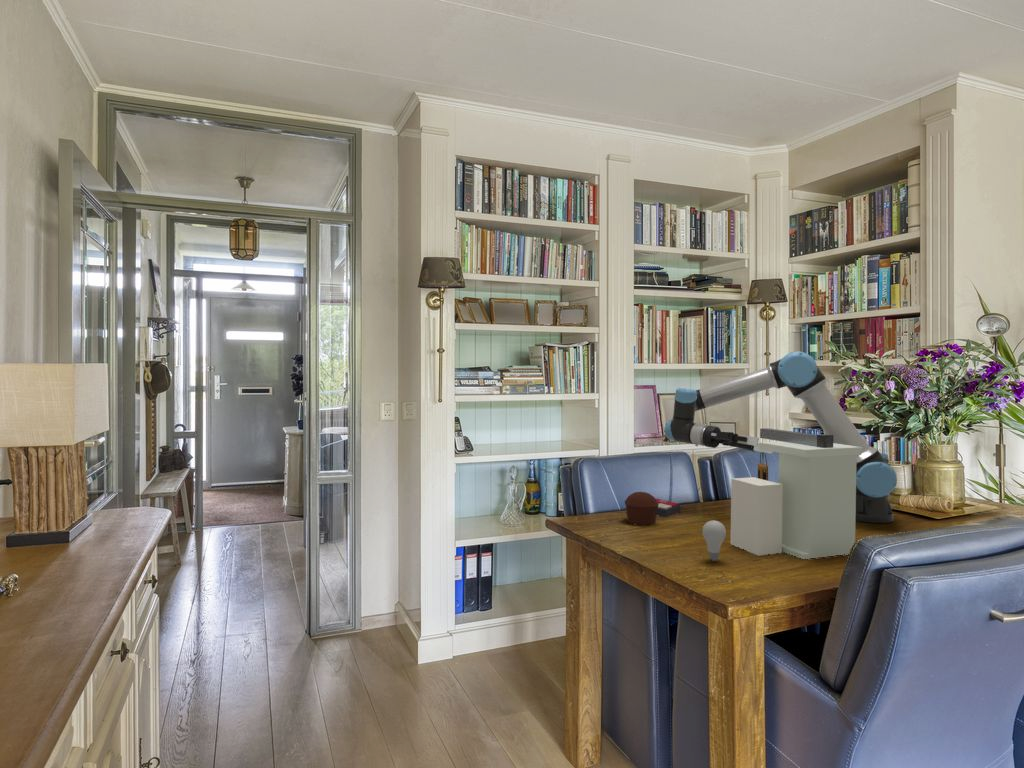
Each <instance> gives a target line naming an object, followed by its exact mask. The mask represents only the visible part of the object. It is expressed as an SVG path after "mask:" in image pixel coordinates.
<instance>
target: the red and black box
mask: <svg viewBox="0 0 1024 768" xmlns="http://www.w3.org/2000/svg"><path fill="white" fill-rule="evenodd" d="M654 498H655V497H654ZM655 499H656V501H657V502H658V504H659V505H658V508H657V514H656V515H659V516H658V517H662V516H663V518H667V517H669V515H670V516H673V515H676V514H678V513H677V512H679V513H681V504H680V503H678V502H674V501H669V500H664V499H660V498H655ZM675 513H676V514H675ZM672 514H673V515H672Z"/></svg>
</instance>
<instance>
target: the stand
mask: <svg viewBox="0 0 1024 768" xmlns="http://www.w3.org/2000/svg"><path fill="white" fill-rule="evenodd" d="M758 443H759V449H761V450H767V451H772V452H773V453H778V483H780V484H783V497H782V553H784V552H785V553H784V554H786V553H787V555H789V554H790V555H789V556H791V555H793V556H792V557H794V556H796V557H795V558H797V557H798V558H797V559H799V558H801V559H800V560H802V559H808V560H811V559H810V558H816V559H819V558H818V557H825V558H827V557H826V556H834V557H836V556H835V555H843V556H848V554H849V551H850V549H851V548H852V546H853V545H854V543H855V544H856V520H855V517H856V458H857V455H859V454H862V447H857V446H850V445H843V444H836V443H833V447H832V448H821V447H815V446H809V445H802V444H796V443H789V442H783V441H765V442H763V441H762V442H761V441H760V442H759V441H758ZM844 554H845V555H844Z"/></svg>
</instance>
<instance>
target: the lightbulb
mask: <svg viewBox="0 0 1024 768" xmlns="http://www.w3.org/2000/svg"><path fill="white" fill-rule="evenodd" d="M701 530H702V532H701V533H702V536H703V538H704V540H705V542H706V546H707V551H708V559H709V560H710V561H712V562H716V561H718V560H719V558H720V552H721V547H722V543H723V542H724V541H725V538H726V537H727V530H726V527H725V525H724V524H723V523H722V522H720V521H718V520H713V519H712V520H709V521H707V522H705V524H704V525H703V527H702V529H701Z"/></svg>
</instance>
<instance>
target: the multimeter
mask: <svg viewBox="0 0 1024 768" xmlns="http://www.w3.org/2000/svg"><path fill="white" fill-rule="evenodd" d="M764 456H765V461H764ZM759 462H760V463H757V478H759V479H763V480H767V481H769V466H768V461H767V455H766V454H765V453H764V452H761V453H760V455H759ZM765 463H766V464H765Z"/></svg>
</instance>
